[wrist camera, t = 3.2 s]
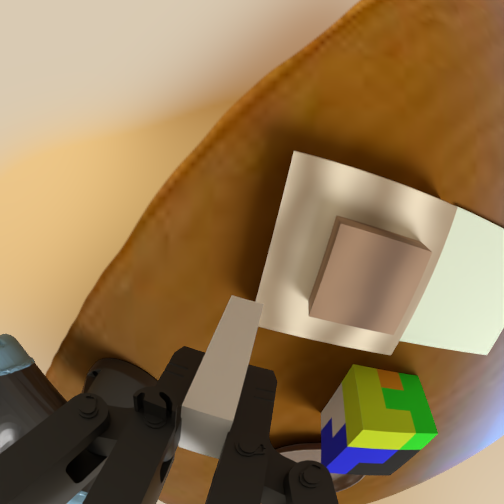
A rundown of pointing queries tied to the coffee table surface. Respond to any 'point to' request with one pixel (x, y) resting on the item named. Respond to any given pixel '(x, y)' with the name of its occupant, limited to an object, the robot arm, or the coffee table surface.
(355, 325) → the walnut tile
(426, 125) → the coffee table surface
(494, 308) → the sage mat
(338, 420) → the puzzle toy
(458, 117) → the coffee table surface
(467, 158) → the coffee table surface
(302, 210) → the plate
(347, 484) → the plant saucer
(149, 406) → the robot arm
